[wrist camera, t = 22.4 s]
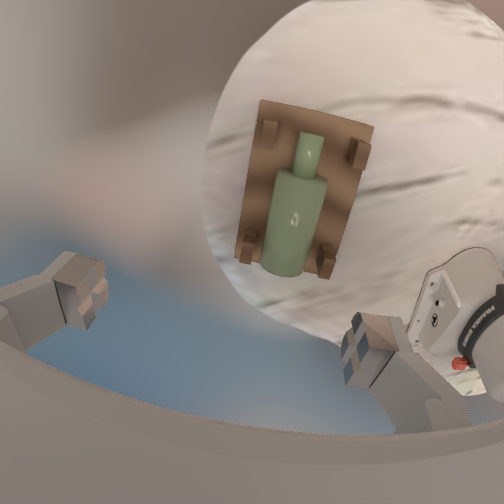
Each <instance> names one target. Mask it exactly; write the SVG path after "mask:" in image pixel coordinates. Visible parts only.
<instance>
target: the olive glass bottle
mask: <svg viewBox="0 0 504 504" xmlns="http://www.w3.org/2000/svg"><path fill="white" fill-rule="evenodd" d="M324 138H325V137H324V136H321V135H318V134H315V133H311V132H305V131H300V134H299V138H298V143H297V148H296V153H295V158H294V162H293V167H292V168H280V169H278V170H277V175H276V180H275V185H274V190H273V195H272V200H271V205H270V210H269V215H268V220H267V225H266V230H265V235H264V240H263V244H262V249H261V254H260V259H259V261H260V264H261V266H262V267H263V268H264V269H265V270H266V271H268V272H270V273H272V274H274V275H277V276H281V277H296V276H299V275H300V274H302V273H303V271H304V269H305V265H306V262H307V259H308V255H309V252H310V248H311V245H312V241H313V238H314V234H315V231H316V227H317V224H318V220H319V216H320V213H321V209H322V205H323V202H324V198H325V194H326V190H327V187H328V180H327V179H325V178H324V177H322V176H320V175H318V174H316V173H317V168H318V164H319V160H320V156H321V151H322V147H323V143H324Z"/></svg>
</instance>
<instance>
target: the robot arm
mask: <svg viewBox="0 0 504 504" xmlns="http://www.w3.org/2000/svg"><path fill="white" fill-rule="evenodd" d="M105 273H106V266H105V263H104V262H103V261H102V260H98V259H95V258H92V257H88V256H84V255H81V254H77V253H73V252H69V251H66V252H63V253H62V254H61V255H60V256H59V257H58V258H57V259H56V260H55V261H54V262H53V263H52V264H51V265H50V266H48V267H47V268H46V269H45V270H44V271H43V272H42V273H41V274H40V275H34V276H31V277H28V278H25V279H23V280H20V281H17V282H15V283H12V284H9V285H7V286H4V287H1V288H0V504H504V419H503V420H499V421H495V422H490V423H485V424H480V425H474V426H472V423H471V420H470V417H469V413H468V410H467V408H466V405H465V402H464V399H463V396H462V395H461V394H460V393H459V392H458V391H457V390H456V389H455V388H453V387H452V386H451V385H450V384H449V383H448V382H447V381H446V380H445V379H444V378H443V377H442V376H441V375H440V374H439V373H438V372H437V371H436V370H435V369H434V368H433V367H432V366H431V365H430V364H428V363H427V362H426V361H425V360H424V359H423V358H422V357H421V356H420V355H419V354H418V353H414V352H413V349H412V347H411V344H413V345H415V346H418V347H422V348H425V349H426V350H427V351H428V352H429V353H431V354H432V355H435V356H438V357H444V358H454V359H453V361H452V368H453V369H454V370H458V369H460V370H463V369H465V367H466V366H469V367H470V368H477V370H478V372H479V375H480V377H481V379H482V382H483V384H484V386H485V389H486V391H487V393H488V395H489V396H490V397H491V398H492V399H493V400H494V401H496V402H499V403H502V404H504V277H503V275H502V274H501V272H500V270H499V268H498V265H497V263H496V260H495V258H494V256H493V255H492V253H491V252H489V251H488V250H486V249H483V248H472V249H468V250H465V251H463V252H461V253H459V254H458V255H456V256H455V257H454V258H452V259H451V260H450V261H449V262H447V263H446V264H445V265H443V266H440V267H437V268H435V269H433V270H431V271H429V272H428V274H427V275H426V278H425V281H424V285H423V288H422V291H421V294H420V297H419V300H418V303H417V306H416V308H415V311H414V314H413V317H412V319H411V322H410V325H409V327H408V330H407V333H406V331H405V328H404V325H403V323H402V320H401V319H400V318H399V317H393V316H381V315H374V314H367V313H360V312H357V313H356V314H355V315H354V317H353V319H352V321H351V322H352V328H351V329H349V330H348V331H346V333H345V335H344V338H343V341H342V345H341V358H342V360H343V361H344V362H345V363H346V366H345V367H344V369H343V372H344V380H345V386H349V387H359V388H369V390H370V392H371V394H372V395H373V396H374V398H375V399H376V401H377V402H378V403H379V405H380V406H381V408H382V409H383V411H384V412H385V413H386V415H387V416H388V418H389V419H390V421H391V422H392V423H393V425H394V426H395V428H396V429H397V430H396V431H395V432H394V433H393V434H386V435H342V434H340V435H339V434H319V433H305V432H294V431H283V430H275V429H267V428H260V427H253V426H246V425H240V424H235V423H229V422H224V421H218V420H213V419H208V418H204V417H199V416H195V415H191V414H186V413H182V412H179V411H175V410H171V409H167V408H164V407H160V406H156V405H153V404H149V403H146V402H143V401H140V400H136V399H133V398H130V397H127V396H124V395H121V394H119V393H115V392H112V391H110V390H107V389H104V388H102V387H99V386H96V385H94V384H91V383H89V382H86V381H84V380H81V379H79V378H76V377H74V376H72V375H69V374H67V373H65V372H63V371H60V370H58V369H55V368H54V367H52V366H49V365H47V364H45V363H43V362H41V361H39V360H37V359H35V358H33V357H31V356H29V355H28V353H27V352H26V350H27V349H29V348H31V347H32V346H34V345H36V344H37V343H39V342H40V341H42V340H43V339H45V338H47V337H49V336H50V335H52V334H53V333H55V332H57V331H58V330H60V329H62V328H63V327H65V326H66V325H69V326H72V327H75V328H78V329H81V330H84V331H87V330H88V329H89V327H90V326H91V324H92V323H93V321H94V320H95V318H96V317H95V312H97V311H99V310H101V309H102V308H103V306H104V305H105V304H106V300H107V297H108V289H109V288H108V282H107V281H106V280H105V278H104V277H103V276H104V274H105ZM410 343H411V344H410ZM462 356H463V357H462ZM460 357H462V358H460Z"/></svg>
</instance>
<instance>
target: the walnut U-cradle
mask: <svg viewBox="0 0 504 504" xmlns="http://www.w3.org/2000/svg"><path fill="white" fill-rule="evenodd" d="M373 129H374V127H372V126H369V125H366V124H363V123H359V122H356V121H353V120H349V119H345V118H342V117H338V116H334V115H330V114H326V113H322V112H318V111H314V110H310V109H305V108H301V107H296V106H291V105H286V104H281V103H276V102H271V101H265V100H261V102H260V108H259V113H258V119H257V124H256V130H255V136H254V141H253V147H252V153H251V158H250V164H249V170H248V176H247V182H246V188H245V194H244V200H243V206H242V212H241V218H240V224H239V230H238V236H237V242H236V249H235V255H234V258H237V259H240V260H239V262H240V263H245V264H250V265H251V261H252V262H257V263H260V261H259V259H260V254H261V249H262V244H263V240H264V235H265V230H266V225H267V220H268V215H269V210H270V205H271V200H272V195H273V190H274V185H275V180H276V175H277V170H278V169H280V168H292V167H293V162H294V158H295V153H296V148H297V143H298V138H299V134H300V131H305V132H311V133H315V134H318V135H321V136H324V137H325V138H324V143H323V147H322V151H321V156H320V160H319V164H318V168H317V173H316V174H318V175H320V176H322V177H324V178H325V179H327V180H328V187H327V190H326V194H325V198H324V202H323V205H322V209H321V213H320V216H319V220H318V224H317V227H316V231H315V234H314V238H313V241H312V245H311V248H310V252H309V255H308V259H307V262H306V265H305V269H304V272H309V273H314V274H318V278H323V279H328V280H329V279H330V276H331V273H332V271H333V268H334V265H335V262H336V258H335V257H336V254H337V251H338V248H339V245H340V242H341V239H342V236H343V233H344V230H345V227H346V224H347V221H348V218H349V214H350V211H351V208H352V205H353V201H354V198H355V195H356V191H357V188H358V185H359V181H360V178H361V174H362V171H363V170H364V171H365V167H366V164H367V160H368V157H369V153H370V149H371V145H370V141H371V137H372V133H373Z"/></svg>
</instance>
